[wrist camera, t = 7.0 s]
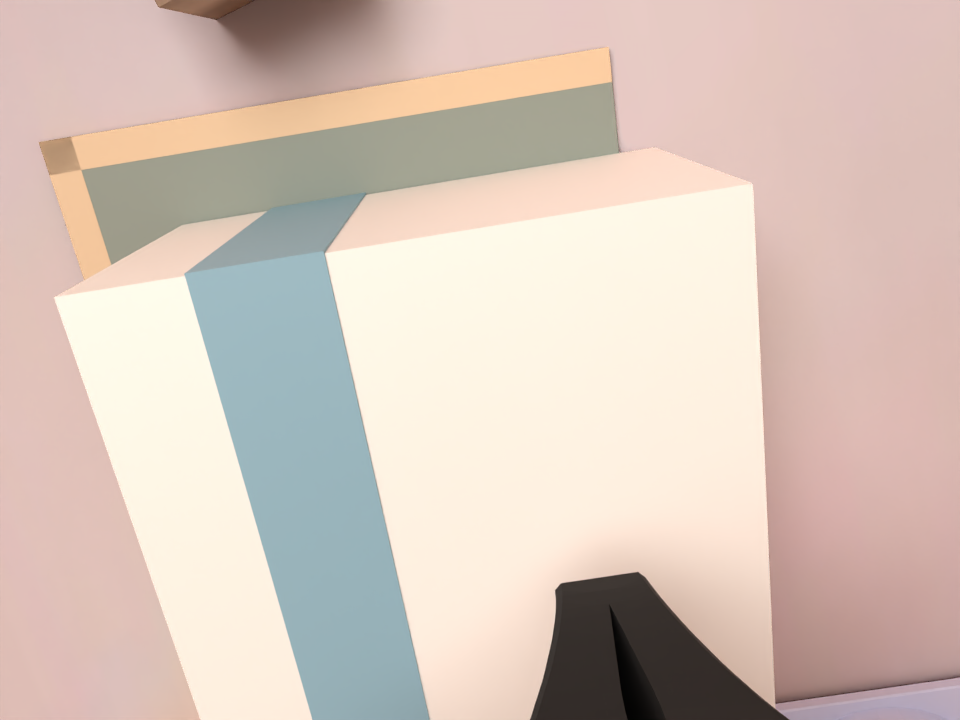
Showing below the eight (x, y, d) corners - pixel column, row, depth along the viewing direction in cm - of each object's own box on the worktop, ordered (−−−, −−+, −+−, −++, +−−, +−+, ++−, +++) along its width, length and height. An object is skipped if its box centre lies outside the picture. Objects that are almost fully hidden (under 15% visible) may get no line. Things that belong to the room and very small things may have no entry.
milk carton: (777, 741, 18) (180, 828, 18) (688, 556, 24) (254, 623, 25) (754, 180, 14) (-17, 306, 14) (654, 144, 20) (136, 230, 21)
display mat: (663, 624, 25) (665, 629, 25) (223, 688, 26) (221, 694, 25) (606, 47, 20) (608, 47, 19) (43, 141, 20) (38, 142, 20)
